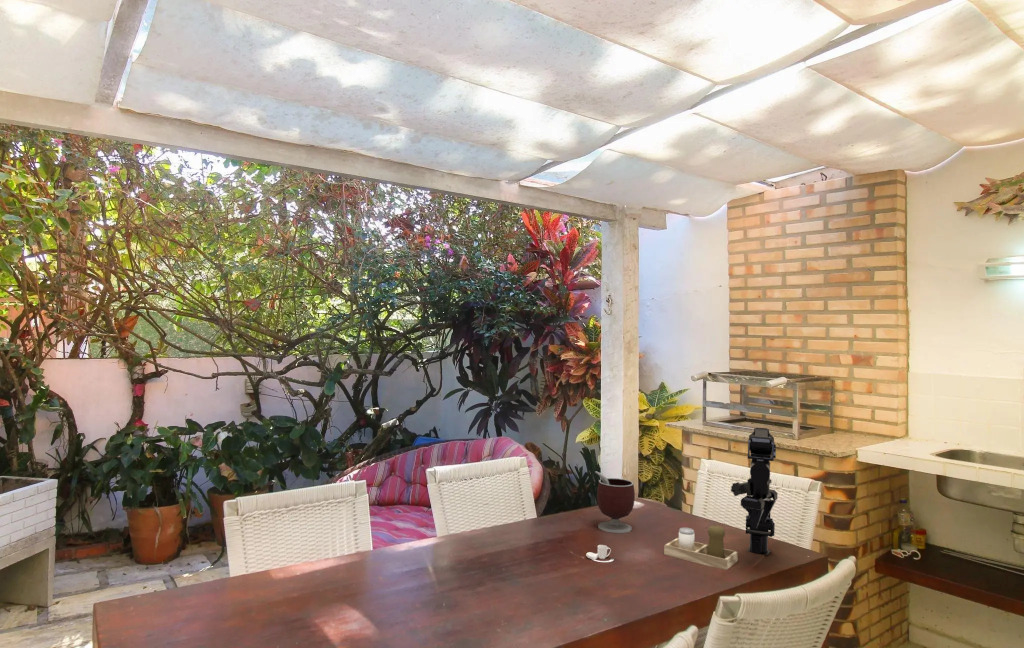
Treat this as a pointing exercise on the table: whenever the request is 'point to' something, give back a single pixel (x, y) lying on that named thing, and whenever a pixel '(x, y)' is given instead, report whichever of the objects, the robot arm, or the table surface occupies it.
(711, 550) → the olive tapered block
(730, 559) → the caddy
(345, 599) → the table surface
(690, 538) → the salt shaker
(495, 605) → the table surface
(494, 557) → the table surface
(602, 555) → the teacup and saucer
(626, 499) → the mate gourd
